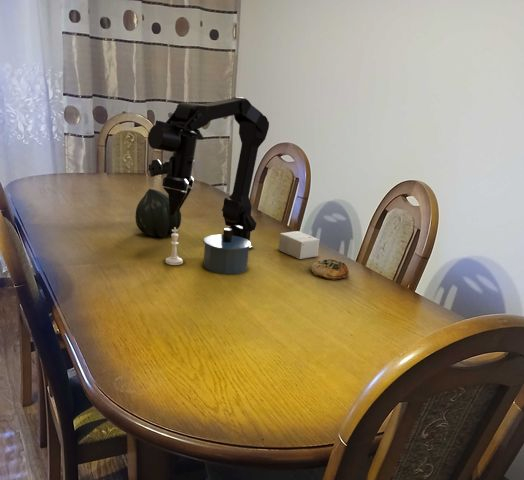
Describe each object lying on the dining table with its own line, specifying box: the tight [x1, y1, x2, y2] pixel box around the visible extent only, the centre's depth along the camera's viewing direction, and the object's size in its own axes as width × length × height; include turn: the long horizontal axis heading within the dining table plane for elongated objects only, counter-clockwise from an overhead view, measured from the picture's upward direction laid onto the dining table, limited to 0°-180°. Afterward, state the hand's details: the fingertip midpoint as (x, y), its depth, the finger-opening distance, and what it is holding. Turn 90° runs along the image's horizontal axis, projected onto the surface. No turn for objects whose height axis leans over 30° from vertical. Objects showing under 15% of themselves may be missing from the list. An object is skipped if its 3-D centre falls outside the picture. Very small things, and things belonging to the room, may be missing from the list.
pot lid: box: [203, 227, 252, 250], centre depth 157 cm, size 13×13×5 cm
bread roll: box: [310, 258, 349, 281], centre depth 164 cm, size 11×11×5 cm
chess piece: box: [165, 227, 184, 266], centre depth 158 cm, size 5×5×10 cm
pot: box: [203, 243, 250, 275], centre depth 160 cm, size 12×12×7 cm
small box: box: [277, 230, 321, 260], centre depth 178 cm, size 8×6×10 cm
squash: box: [135, 188, 182, 238], centre depth 181 cm, size 14×15×15 cm
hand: (174, 213), depth 155 cm, fingers open, 9 cm apart
